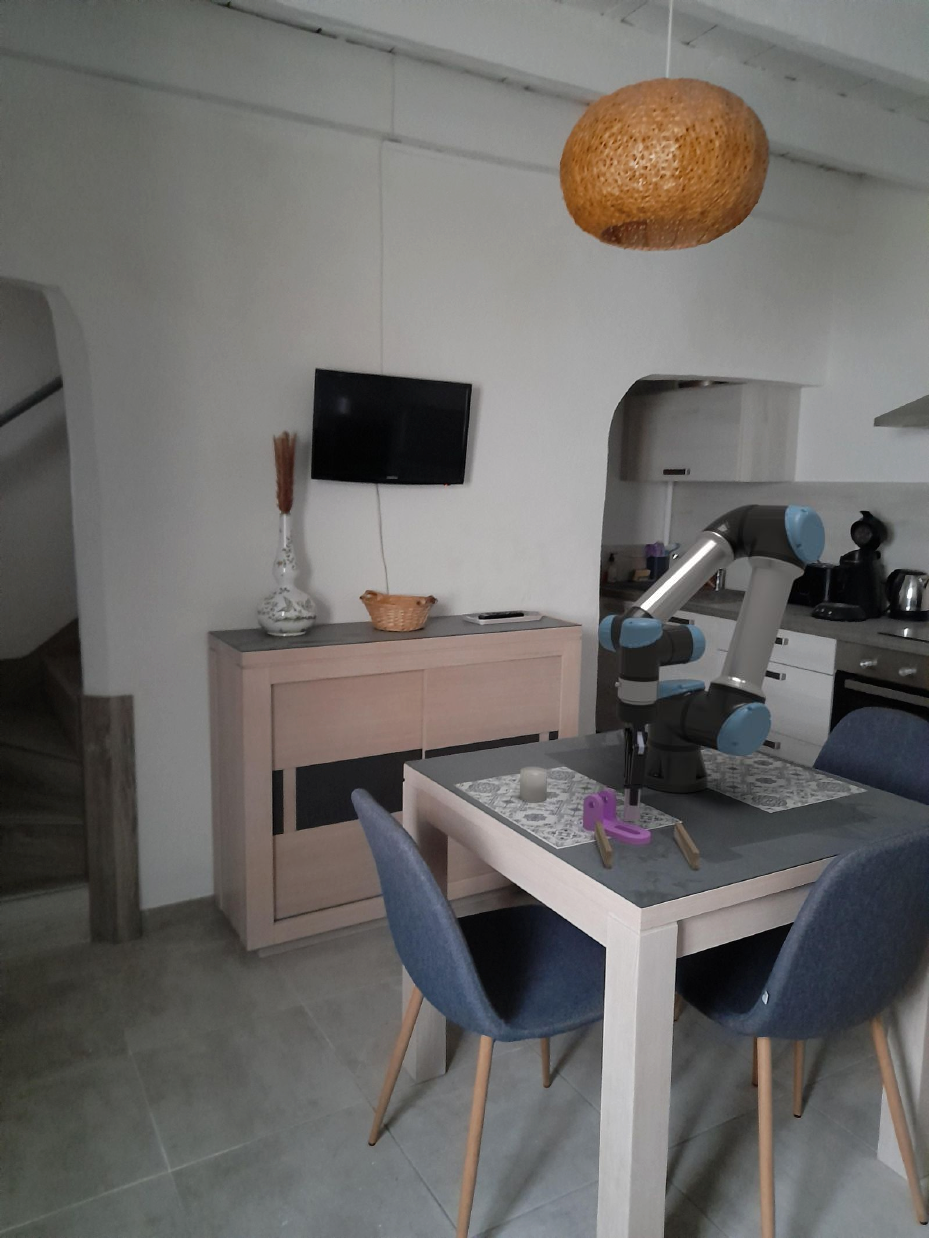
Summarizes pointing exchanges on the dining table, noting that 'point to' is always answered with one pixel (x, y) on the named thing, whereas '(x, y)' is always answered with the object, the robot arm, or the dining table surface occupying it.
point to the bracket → (611, 819)
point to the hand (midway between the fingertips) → (631, 819)
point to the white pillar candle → (533, 784)
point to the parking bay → (679, 835)
